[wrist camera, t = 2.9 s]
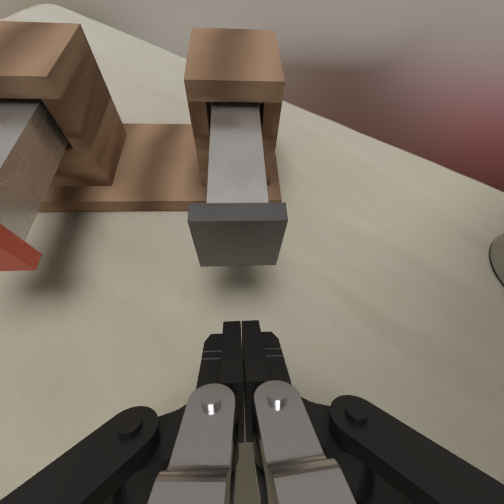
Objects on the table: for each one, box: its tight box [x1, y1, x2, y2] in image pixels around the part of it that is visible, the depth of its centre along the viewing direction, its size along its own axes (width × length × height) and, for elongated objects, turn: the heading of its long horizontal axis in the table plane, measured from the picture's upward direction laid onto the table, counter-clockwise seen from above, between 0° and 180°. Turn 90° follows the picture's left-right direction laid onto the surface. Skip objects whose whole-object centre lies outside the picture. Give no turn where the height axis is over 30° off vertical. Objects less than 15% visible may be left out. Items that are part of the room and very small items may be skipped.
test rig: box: [0, 21, 285, 212], centre depth 25 cm, size 25×12×12 cm, turn 93°
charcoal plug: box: [188, 102, 288, 267], centre depth 19 cm, size 5×15×5 cm, turn 3°
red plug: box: [0, 98, 69, 271], centre depth 18 cm, size 5×15×5 cm, turn 3°
